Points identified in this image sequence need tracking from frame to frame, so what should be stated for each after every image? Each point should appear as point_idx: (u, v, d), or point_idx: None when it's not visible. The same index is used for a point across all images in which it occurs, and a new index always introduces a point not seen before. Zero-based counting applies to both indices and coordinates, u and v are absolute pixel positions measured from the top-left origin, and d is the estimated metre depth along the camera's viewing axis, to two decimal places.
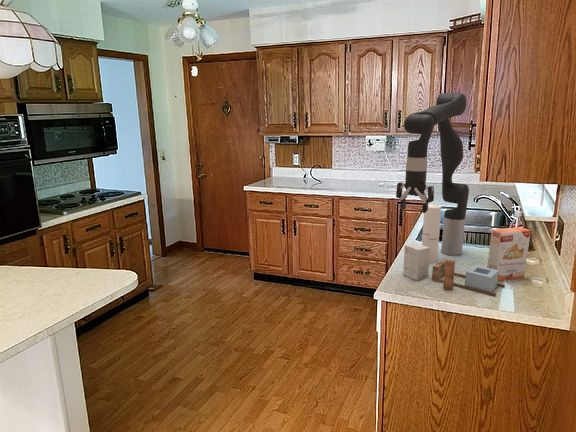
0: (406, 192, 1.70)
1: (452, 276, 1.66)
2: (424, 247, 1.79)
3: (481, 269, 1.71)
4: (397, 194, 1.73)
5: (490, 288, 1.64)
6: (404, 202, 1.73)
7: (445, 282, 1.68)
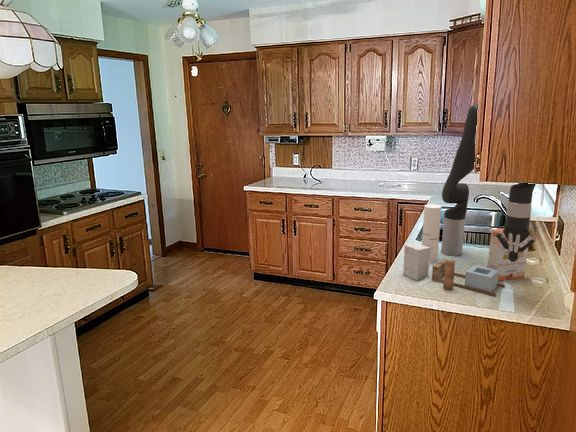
0: (510, 240, 1.58)
1: (452, 276, 1.66)
2: (424, 247, 1.79)
3: (481, 269, 1.71)
4: (504, 245, 1.60)
5: (490, 288, 1.64)
6: None
7: (445, 282, 1.68)
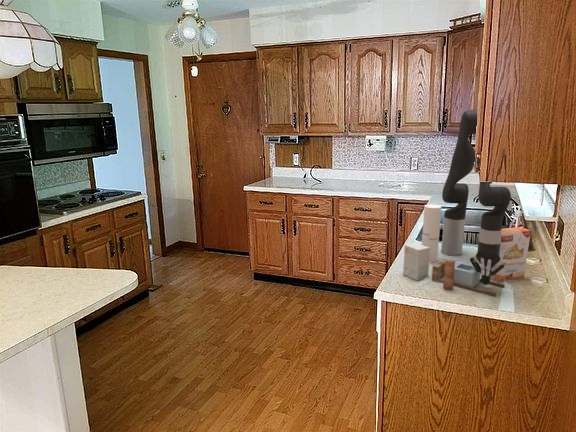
0: (482, 265, 1.66)
1: (452, 276, 1.66)
2: (424, 247, 1.79)
3: (464, 265, 1.75)
4: (476, 269, 1.69)
5: (472, 284, 1.68)
6: None
7: (445, 282, 1.68)
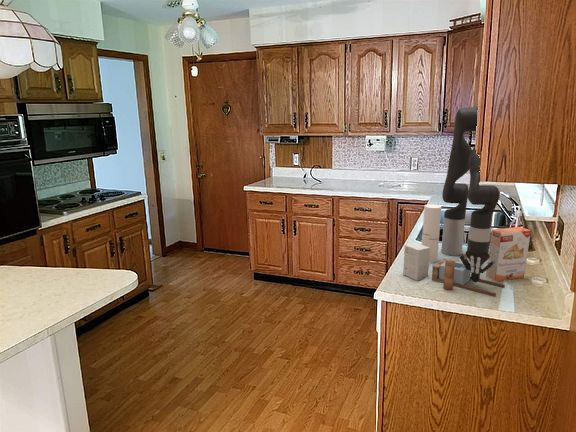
0: (472, 262, 1.69)
1: (452, 276, 1.66)
2: (424, 247, 1.79)
3: (455, 263, 1.78)
4: (466, 266, 1.71)
5: (462, 281, 1.71)
6: None
7: (445, 282, 1.68)
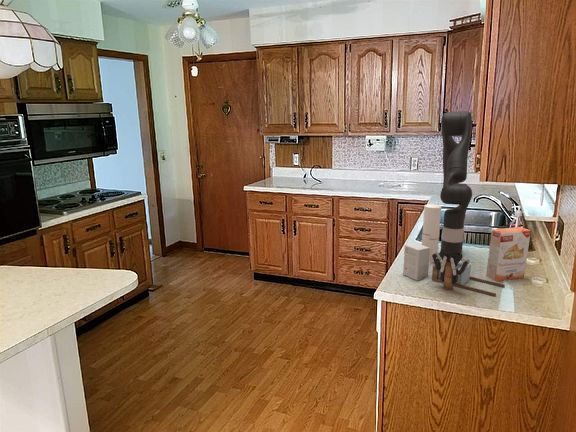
0: (443, 262, 1.67)
1: None
2: (424, 247, 1.79)
3: None
4: (436, 266, 1.69)
5: (462, 281, 1.71)
6: None
7: (445, 282, 1.68)
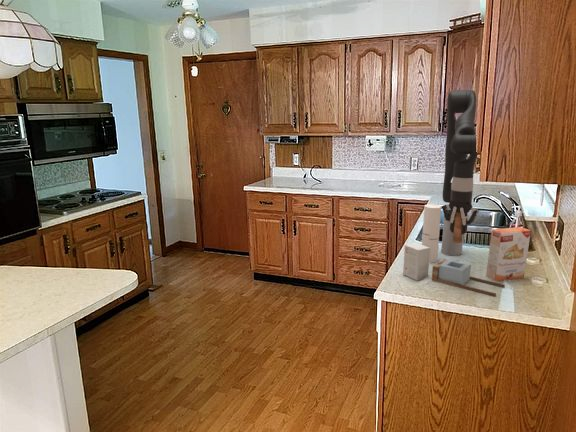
0: (453, 213, 1.70)
1: None
2: (424, 247, 1.79)
3: (454, 263, 1.78)
4: (446, 217, 1.72)
5: (462, 281, 1.71)
6: None
7: (455, 232, 1.71)
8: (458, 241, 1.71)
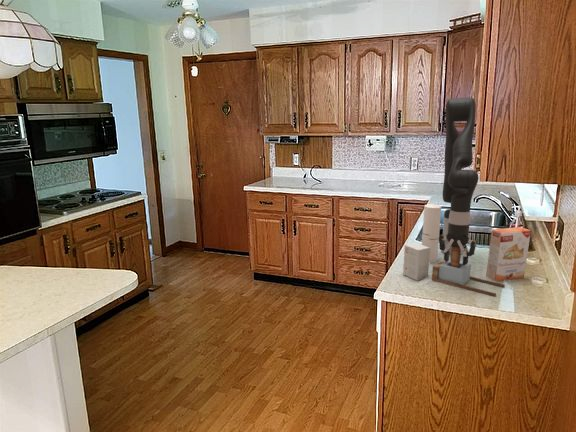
0: (449, 244, 1.73)
1: (458, 260, 1.73)
2: (424, 247, 1.79)
3: None
4: (440, 246, 1.76)
5: (462, 281, 1.71)
6: (448, 254, 1.76)
7: None
8: None
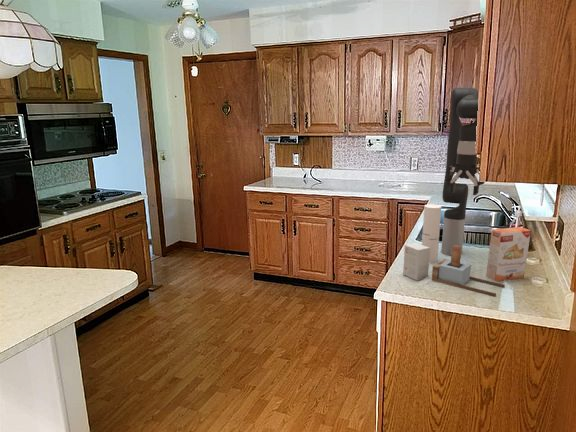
0: (457, 175, 1.76)
1: (458, 261, 1.73)
2: (424, 247, 1.79)
3: None
4: (447, 177, 1.79)
5: (462, 281, 1.71)
6: (454, 185, 1.79)
7: None
8: None
